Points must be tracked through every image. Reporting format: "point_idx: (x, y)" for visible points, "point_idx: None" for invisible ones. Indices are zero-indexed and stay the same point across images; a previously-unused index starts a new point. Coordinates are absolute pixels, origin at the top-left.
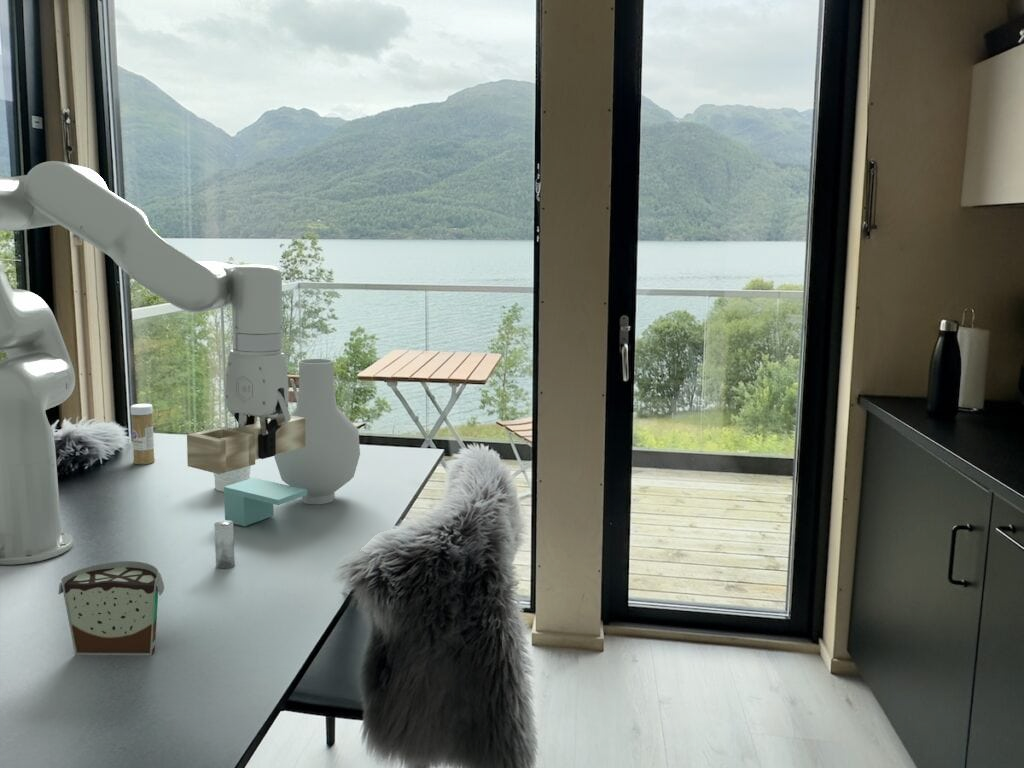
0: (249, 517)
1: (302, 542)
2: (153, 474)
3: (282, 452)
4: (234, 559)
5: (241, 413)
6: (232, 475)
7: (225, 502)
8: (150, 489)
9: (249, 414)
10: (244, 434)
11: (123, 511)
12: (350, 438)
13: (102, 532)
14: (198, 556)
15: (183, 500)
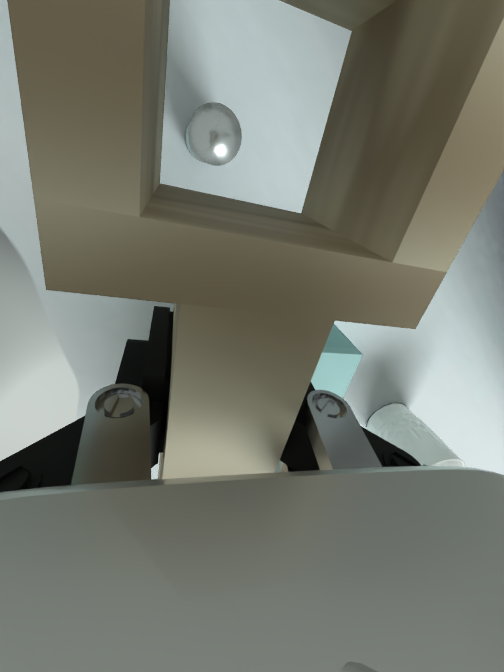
0: None
1: (153, 307)
2: (499, 404)
3: None
4: (190, 152)
5: (342, 469)
6: (393, 427)
7: (344, 337)
8: (486, 367)
9: (218, 478)
10: (84, 187)
11: (496, 289)
12: None
13: (499, 198)
14: (286, 164)
15: (429, 358)
